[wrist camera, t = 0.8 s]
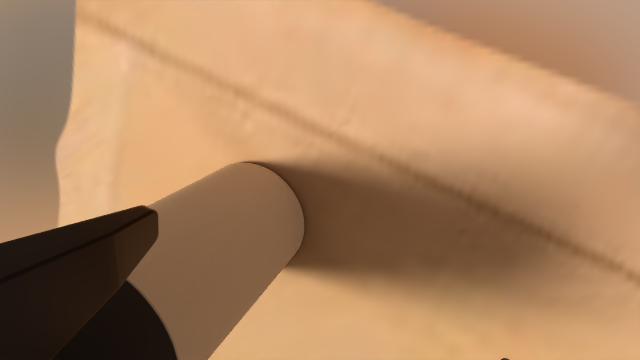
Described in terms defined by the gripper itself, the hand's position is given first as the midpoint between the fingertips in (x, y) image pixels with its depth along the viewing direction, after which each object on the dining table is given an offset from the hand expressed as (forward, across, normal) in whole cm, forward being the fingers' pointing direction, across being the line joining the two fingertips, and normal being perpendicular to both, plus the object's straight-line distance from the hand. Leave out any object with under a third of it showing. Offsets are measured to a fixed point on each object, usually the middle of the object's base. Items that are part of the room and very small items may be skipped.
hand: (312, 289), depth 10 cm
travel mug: (+14, +8, +11) cm, 19 cm away
